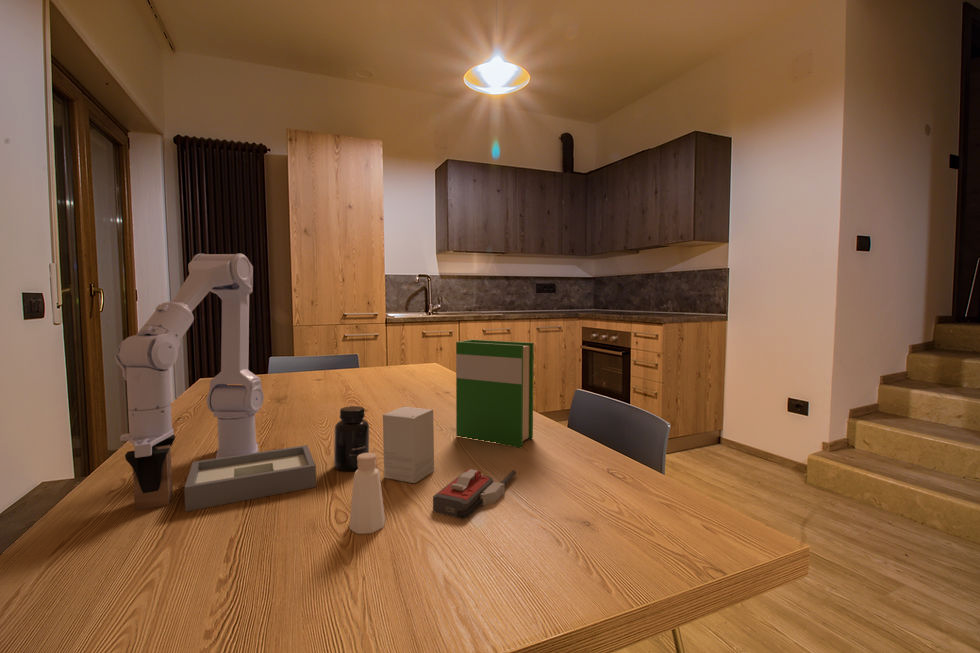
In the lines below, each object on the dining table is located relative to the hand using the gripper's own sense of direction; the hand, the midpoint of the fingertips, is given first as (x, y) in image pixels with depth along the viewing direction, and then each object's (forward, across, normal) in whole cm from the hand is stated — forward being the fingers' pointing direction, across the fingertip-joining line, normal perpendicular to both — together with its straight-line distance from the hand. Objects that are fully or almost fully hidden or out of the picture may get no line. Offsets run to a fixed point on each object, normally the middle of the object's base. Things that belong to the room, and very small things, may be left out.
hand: (153, 485), depth 75 cm
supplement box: (+3, +9, +42) cm, 43 cm away
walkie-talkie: (+4, +23, +50) cm, 55 cm away
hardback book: (+3, -3, +68) cm, 68 cm away
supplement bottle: (+3, -1, +33) cm, 33 cm away
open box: (+3, 0, +15) cm, 15 cm away
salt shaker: (+3, +25, +30) cm, 39 cm away
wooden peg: (+3, 0, 0) cm, 3 cm away
